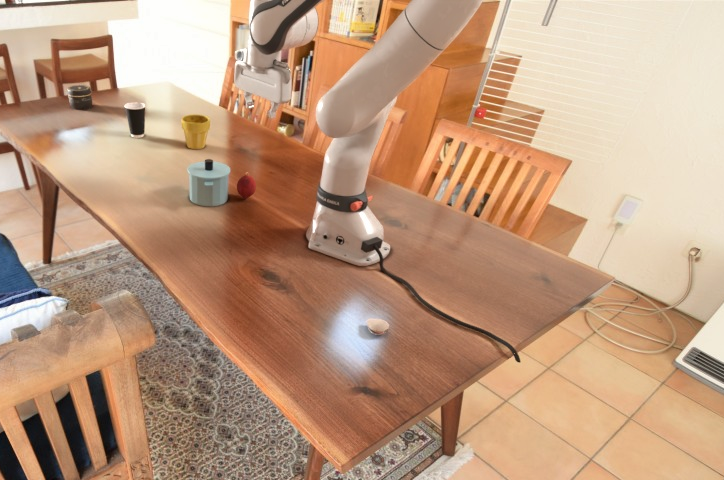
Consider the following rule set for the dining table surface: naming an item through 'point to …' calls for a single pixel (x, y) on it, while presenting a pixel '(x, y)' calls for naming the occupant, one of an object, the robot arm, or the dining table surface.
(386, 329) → the macaroon
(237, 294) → the dining table surface
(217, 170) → the pot lid
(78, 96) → the jar
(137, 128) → the dixie cup
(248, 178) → the onion
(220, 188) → the pot
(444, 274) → the dining table surface
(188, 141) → the flower pot
